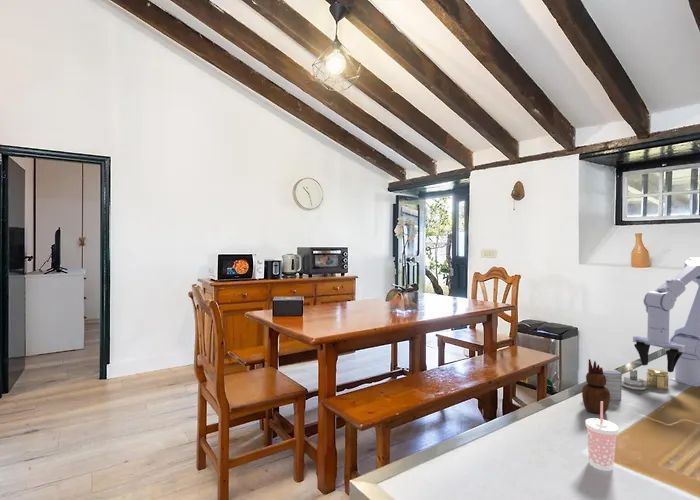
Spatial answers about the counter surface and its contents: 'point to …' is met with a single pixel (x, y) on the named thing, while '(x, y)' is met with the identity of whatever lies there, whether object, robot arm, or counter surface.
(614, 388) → the medicine box
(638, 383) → the stud post
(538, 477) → the counter surface
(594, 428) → the beverage cup
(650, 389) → the mat
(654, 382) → the cap
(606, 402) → the wooden figurine
